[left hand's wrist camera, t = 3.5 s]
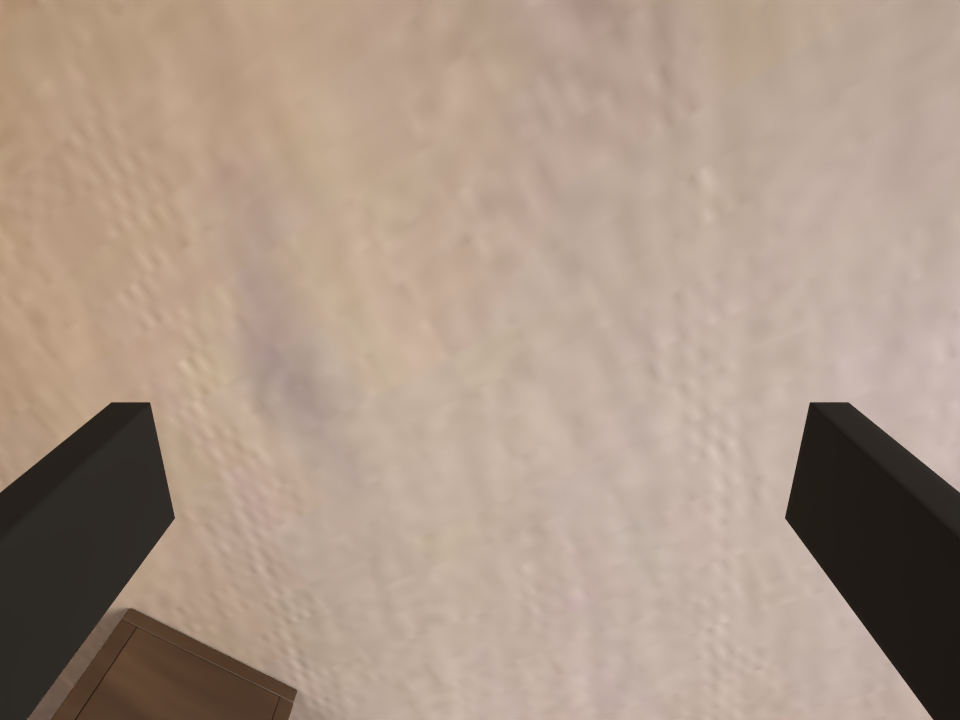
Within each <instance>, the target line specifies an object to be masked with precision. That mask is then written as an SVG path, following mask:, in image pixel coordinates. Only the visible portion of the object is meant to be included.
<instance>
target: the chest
mask: <svg viewBox="0 0 960 720" xmlns="http://www.w3.org/2000/svg"><path fill="white" fill-rule="evenodd" d="M296 693H297V690H295V689H293V688H291V687H289V686H287V685H285V684H283V683H281V682H279V681H277V680H275V679H273V678H271V677H269V676H267V675H265V674H263V673H261V672H259V671H257V670H255V669H253V668H251V667H249V666H247V665H245V664H243V663H241V662H239V661H237V660H235V659H233V658H231V657H229V656H227V655H225V654H223V653H221V652H219V651H216V650H214V649H212V648H210V647H208V646H206V645H204V644H202V643H200V642H198V641H196V640H194V639H192V638H190V637H188V636H186V635H184V634H182V633H180V632H178V631H176V630H174V629H172V628H170V627H168V626H166V625H164V624H162V623H160V622H158V621H156V620H154V619H152V618H150V617H148V616H146V615H144V614H142V613H140V612H138V611H136V610H134V609H132V608H130V609H128V611H127V612H126V614H125V615H124V617H123V618H122V619H121V621H120V622H119V624H118V625H117V627H116V628H115V629H114V631H113V632H112V634H111V635H110V636H109V638H108V639H107V641H106V642H105V644H104V645H103V646H102V648H101V649H100V651H99V652H98V653H97V655H96V656H95V658H94V659H93V661H92V662H91V663H90V665H89V666H88V668H87V669H86V670H85V672H84V673H83V675H82V676H81V678H80V679H79V680H78V682H77V683H76V685H75V686H74V687H73V689H72V690H71V692H70V693H69V695H68V696H67V697H66V699H65V700H64V702H63V703H62V705H61V706H60V707H59V709H58V710H57V712H56V713H55V714H54V716H53V717H52V719H51V720H288V719H289V716H290V713H291V709H292V706H293V703H294V699H295V696H296Z"/></svg>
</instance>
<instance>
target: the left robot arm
mask: <svg viewBox="0 0 960 720" xmlns="http://www.w3.org/2000/svg"><path fill="white" fill-rule="evenodd" d="M174 519H175V516H174V512H173V507H172V502H171V498H170V493H169V488H168V484H167V479H166V474H165V470H164V465H163V460H162V456H161V451H160V446H159V442H158V437H157V432H156V428H155V423H154V419H153V414H152V409H151V405H150V402H112V403H110V404H109V405H108V406H107V407H105V408H104V409H103V410H102V411H100V412H99V413H98V414H97V415H96V416H94V417H93V418H92V419H91V420H89V421H88V422H87V423H86V424H84V425H83V426H82V427H81V428H79V429H78V430H77V431H76V432H75V433H73V434H72V435H71V436H70V437H68V438H67V439H66V440H65V441H63V442H62V443H61V444H60V445H59V446H57V447H56V448H55V449H54V450H52V451H51V452H50V453H49V454H47V455H46V456H45V457H44V458H42V459H41V460H40V461H39V462H38V463H36V464H35V465H34V466H33V467H31V468H30V469H29V470H28V471H26V472H25V473H24V474H23V475H22V476H20V477H19V478H18V479H17V480H15V481H14V482H13V483H12V484H10V485H9V486H8V487H7V488H6V489H4V490H3V491H2V492H1V493H0V720H27V718H28V717H29V716H30V714H31V713H32V712H33V710H34V709H35V708H36V706H37V705H38V704H39V702H40V701H41V699H42V698H43V697H44V695H45V694H46V693H47V691H48V690H49V689H50V687H51V686H52V684H53V683H54V682H55V680H56V679H57V678H58V676H59V675H60V674H61V672H62V671H63V670H64V668H65V667H66V665H67V664H68V663H69V661H70V660H71V659H72V657H73V656H74V655H75V653H76V652H77V651H78V649H79V648H80V646H81V645H82V644H83V642H84V641H85V640H86V638H87V637H88V636H89V634H90V633H91V631H92V630H93V629H94V627H95V626H96V625H97V623H98V622H99V621H100V619H101V618H102V617H103V615H104V614H105V612H106V611H107V610H108V608H109V607H110V606H111V604H112V603H113V602H114V600H115V599H116V598H117V596H118V595H119V593H120V592H121V591H122V589H123V588H124V587H125V585H126V584H127V583H128V581H129V580H130V579H131V577H132V576H133V574H134V573H135V572H136V570H137V569H138V568H139V566H140V565H141V564H142V562H143V561H144V559H145V558H146V557H147V555H148V554H149V553H150V551H151V550H152V549H153V547H154V546H155V545H156V543H157V542H158V540H159V539H160V538H161V536H162V535H163V534H164V532H165V531H166V530H167V528H168V527H169V526H170V524H171V523H172V521H173V520H174ZM785 519H786V520H787V521H788V523H789V524H790V526H791V527H792V528H793V530H794V531H795V532H796V534H797V535H798V536H799V538H800V539H801V540H802V542H803V543H804V545H805V546H806V547H807V549H808V550H809V551H810V553H811V554H812V555H813V557H814V558H815V559H816V561H817V562H818V564H819V565H820V566H821V568H822V569H823V570H824V572H825V573H826V574H827V576H828V577H829V579H830V580H831V581H832V583H833V584H834V585H835V587H836V588H837V589H838V591H839V592H840V593H841V595H842V596H843V598H844V599H845V600H846V602H847V603H848V604H849V606H850V607H851V608H852V610H853V611H854V612H855V614H856V615H857V617H858V618H859V619H860V621H861V622H862V623H863V625H864V626H865V627H866V629H867V630H868V631H869V633H870V634H871V636H872V637H873V638H874V640H875V641H876V642H877V644H878V645H879V646H880V648H881V649H882V651H883V652H884V653H885V655H886V656H887V657H888V659H889V660H890V661H891V663H892V664H893V665H894V667H895V668H896V670H897V671H898V672H899V674H900V675H901V676H902V678H903V679H904V680H905V682H906V683H907V684H908V686H909V687H910V689H911V690H912V691H913V693H914V694H915V695H916V697H917V698H918V699H919V701H920V702H921V704H922V705H923V706H924V708H925V709H926V710H927V712H928V713H929V714H930V716H931V717H932V718H933V720H960V493H959V492H958V491H957V490H956V489H954V488H953V487H952V486H951V485H950V484H948V483H947V482H946V481H945V480H943V479H942V478H941V477H940V476H938V475H937V474H936V473H935V472H934V471H932V470H931V469H930V468H929V467H927V466H926V465H925V464H924V463H922V462H921V461H920V460H919V459H918V458H916V457H915V456H914V455H913V454H911V453H910V452H909V451H908V450H906V449H905V448H904V447H903V446H901V445H900V444H899V443H898V442H897V441H895V440H894V439H893V438H892V437H890V436H889V435H888V434H887V433H885V432H884V431H883V430H882V429H881V428H879V427H878V426H877V425H876V424H874V423H873V422H872V421H871V420H869V419H868V418H867V417H866V416H864V415H863V414H862V413H861V412H860V411H858V410H857V409H856V408H855V407H853V406H852V405H851V404H850V403H848V402H810V405H809V409H808V414H807V419H806V423H805V428H804V432H803V437H802V442H801V446H800V451H799V456H798V460H797V465H796V470H795V474H794V479H793V484H792V488H791V493H790V498H789V502H788V507H787V512H786V516H785Z"/></svg>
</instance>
